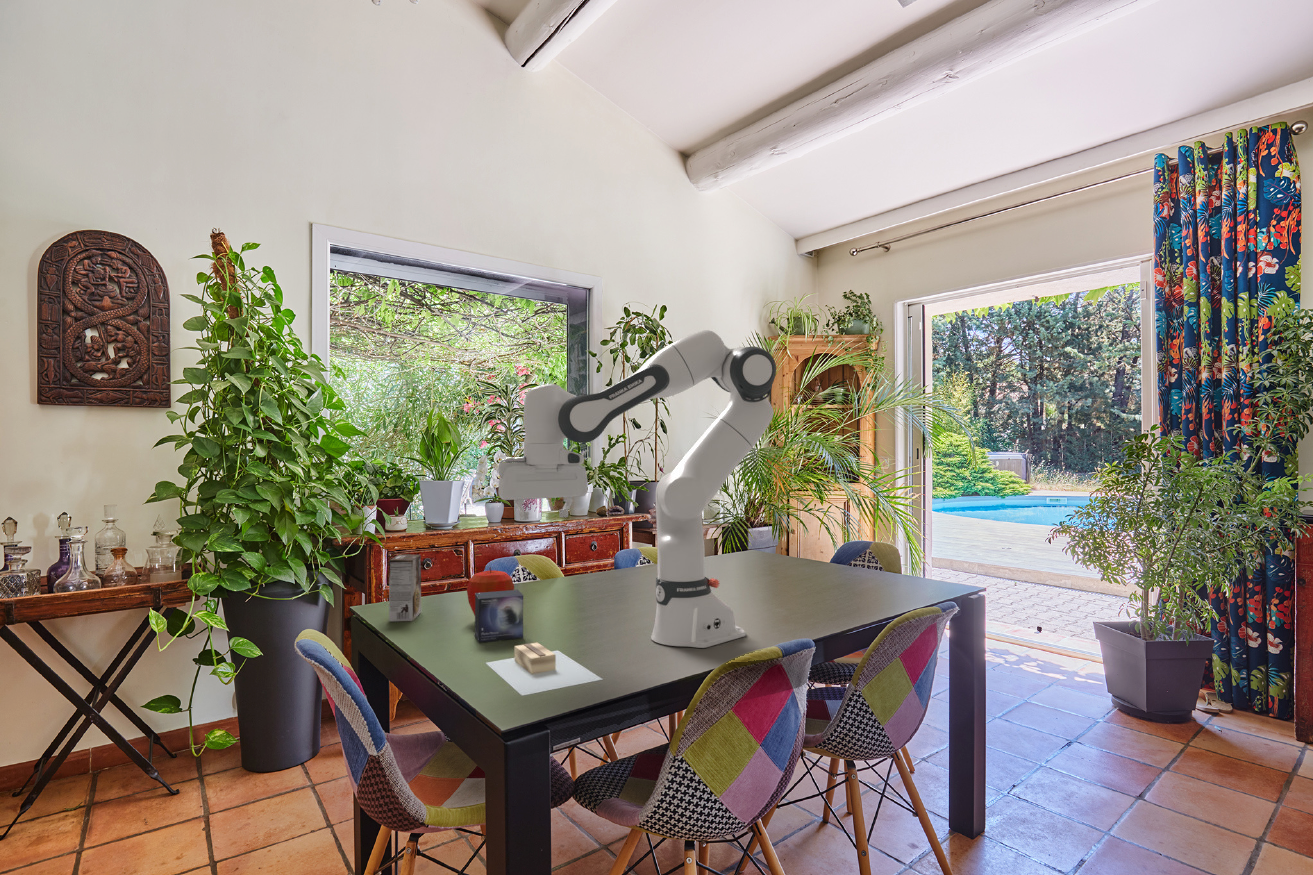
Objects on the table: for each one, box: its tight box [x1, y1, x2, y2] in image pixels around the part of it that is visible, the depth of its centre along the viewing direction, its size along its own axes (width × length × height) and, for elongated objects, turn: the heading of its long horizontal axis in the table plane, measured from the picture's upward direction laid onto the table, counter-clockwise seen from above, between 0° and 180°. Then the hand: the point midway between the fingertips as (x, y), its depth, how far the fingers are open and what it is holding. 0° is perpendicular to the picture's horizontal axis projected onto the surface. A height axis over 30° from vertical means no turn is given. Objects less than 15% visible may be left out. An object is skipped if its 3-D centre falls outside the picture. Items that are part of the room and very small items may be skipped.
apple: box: [466, 567, 515, 616], centre depth 175 cm, size 12×12×14 cm
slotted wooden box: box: [514, 642, 556, 674], centre depth 137 cm, size 10×5×3 cm, turn 31°
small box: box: [473, 589, 524, 644], centre depth 160 cm, size 11×6×10 cm, turn 114°
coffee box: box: [388, 554, 422, 622], centre depth 181 cm, size 9×6×16 cm
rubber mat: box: [485, 650, 604, 696], centre depth 134 cm, size 16×22×1 cm
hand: (544, 518), depth 151 cm, fingers open, 8 cm apart
